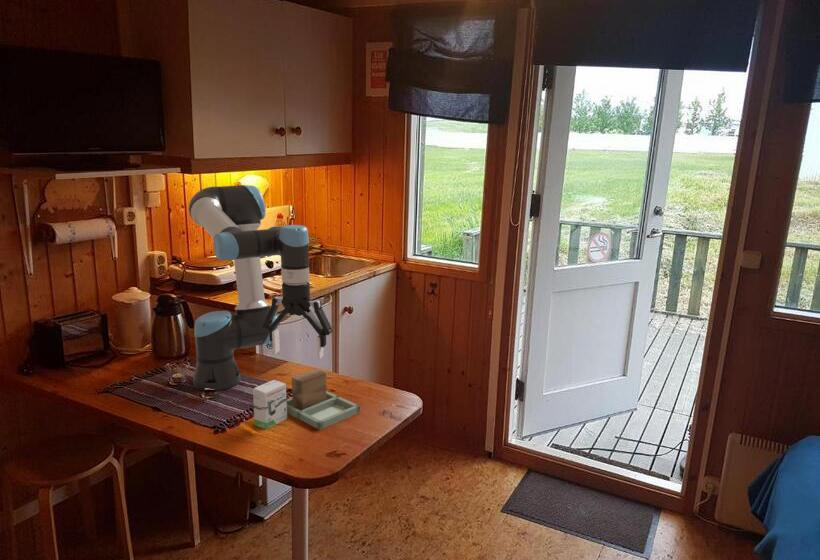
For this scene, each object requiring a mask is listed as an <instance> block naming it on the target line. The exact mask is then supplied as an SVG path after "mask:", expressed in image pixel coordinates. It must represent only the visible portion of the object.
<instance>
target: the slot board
mask: <svg viewBox="0 0 820 560" xmlns="http://www.w3.org/2000/svg"><path fill="white" fill-rule="evenodd" d="M326 394H327V400H326V401H323V402H321V403H318V404H316V405H313V406H311V407H308V408H306V409H303V410H301V411H300V410H298V409H296V408H294V407H293V400H292V397H289V398H288V399H287V398H286V400H287V415H288V414H289V415H290V416H292V417H294V418H296V419H298V420H300V421H302V422H304V423H306V424H307V425H310V426H312V427H314V429H317V430H319V431H321V430H323V429H326V428H328V427H330V426H332V425H335V424H337V423H339V422H342V421H344V420H346V419H348V418H350V417H353V416H355V415H357V414H359V413H361V405H358V404H357V403H354V402H352V401H350V400H348V399H345V398H343V397H341V396H339V395H337V394H334V393H332V392H330V391H328V390H326Z"/></svg>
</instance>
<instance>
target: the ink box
mask: <svg viewBox="0 0 820 560" xmlns="http://www.w3.org/2000/svg"><path fill="white" fill-rule="evenodd" d="M252 392H253V393H252V399H253V419H254V421H253V422H254V423H253V424H254V427H258V428H260V429H262V430H263V429H264V430H268V429H270V428H272V427H274V426H277V425H278V424H279V423H281V422H283V421H285V420H287V419H288V413H287V384H286V383H284V382H282V381H278V380H276V379H272V380H270V381H268V382H265V383H262V384H261V385H258V386H256V387H254V388H253V389H252Z"/></svg>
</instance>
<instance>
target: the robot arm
mask: <svg viewBox="0 0 820 560" xmlns="http://www.w3.org/2000/svg"><path fill="white" fill-rule="evenodd" d="M266 210H267V209H266V203H265V200H264V197H263V194H262V192H261V191H260V190H259V188H258V187H256V186H255V185H248V184H247V185H245V184H242V185H223V186H222V185H221V186H208V187H205V188H203V189H201V190H198V192H196V193H195V194H194V195H193V196H192V198H191V199H190V201H189V203H188V214H189V216H190V218H191V219H192V221H193V222H194V223H195V224H196V225H198V226H199V227H202V228H203V229H205V231H206V232H207V233H208V234H209V235H210V237H211V238H212V239H213V241H212V242H213V244H212V245H213V246H212V247H213V252H214V255H215V257H216V259H218V260H220V261H233V264H234V274H235V281H236V291H237V297H238V299H237V300H238V304H237V305H236V306H235V307H234V312H235V313H234V314H231V312H230V311H228V310H216V311H210V312H207V313H204V314H202V315H201V316H199V317H198V318H196V320H195V322H194V333H193V335H194V340H195V341H194V342H195V351H196V364H195V369H194V372H193V377H192V385H193V387H194V388H195V389H197V390H200V391H205V390H204V389H205V388H210V389H215V390H216V391H221V390H226V389H227V390H228V389H230V388H232V387H235V386H236V385H238V384H239V383H240V382H241V380H242V379H241V371H240V369H239V367H238V364H237V363H236V360H235V357H234V356H235V355H234V354H235V353H234V351H235V350H238V349H239V350H240V349H246V348H251V347H255V346H261V347H262V346H263V345H267V344H271V343H272V354H274V355H276V354H277V353H279V352H280V351H281V350H280V349H281V348H280V347H281V345H280V344H281V343H280V329H279V325H280V324H281V322H282V321H283V320H284V319H285V318H286V317H287V315H288V314H289V315H290V316H299V317H300V316H302V317H303V318H304V319H306V320H307V322H308V323H309V325H311V327H312V328H313V330H314V331H315V332H316V333H317V334H318V335H317V336H316V358H317V360H320V359H322V358H323V357H324V355H325V354H324V351H325V350H324V348H325V346H326V345H327V336H329V335H330V334H332V333H333V328H332V326H331V324H330V321H329V320H328V318H327V315H326V314H325V311H324V309H323V307H322V305H323V304H322V301H321V300H320V299H317V300H311V298H310V297H311V285H310V282H309V281H310V279H311V278H310V255H309V254H310V252H309V251H310V249H309V247H310V246H309V245H310V244H309V242H310V239H309V238H310V237H309V230H308V228H307V227H306V226H305V225H299V224H287V225H282V226H275V225H274V226H271V227H269V228H266V229H259V228H260V227H261V225H262V222H261V221H262V220H264V219H265V217H266ZM270 256H271V257H273V256H280V263H281V264H280V266H281V267H280V268H281V269H280V270H281V281H282V283H281V294H282V297H280V296H279V295H277V296H274V297H272V299H271V304H270V303H269V302H268V301H267V300H266V299H265V290H264V282H263V281H264V279H263V272H262V271H263V270H262V263H261V258H263V257H270ZM281 305H282V306H283V310H281V312H280V313H279V315H277V314H278V313H277V312H278V309H279V307H280V306H281ZM310 307H312V309H311V308H310ZM313 311H314V312H313ZM314 313H315V314H314ZM315 315H316V316H315Z"/></svg>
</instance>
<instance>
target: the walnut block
mask: <svg viewBox="0 0 820 560" xmlns="http://www.w3.org/2000/svg"><path fill="white" fill-rule="evenodd" d="M326 391H327V373H326V372H324V371H322V370H319V369H317V368H314V369H311V370H308V371H305V372H302V373H299V374H297V375H293V376H291V394H292V395H291V396H292V397H291V398H292V400H293V407H294V408H296V409H298V410H300V411H301V410H303V409H306V408H308V407H311V406H313V405H316V404H318V403H321V402H323V401H326V400H327V394H326Z"/></svg>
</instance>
